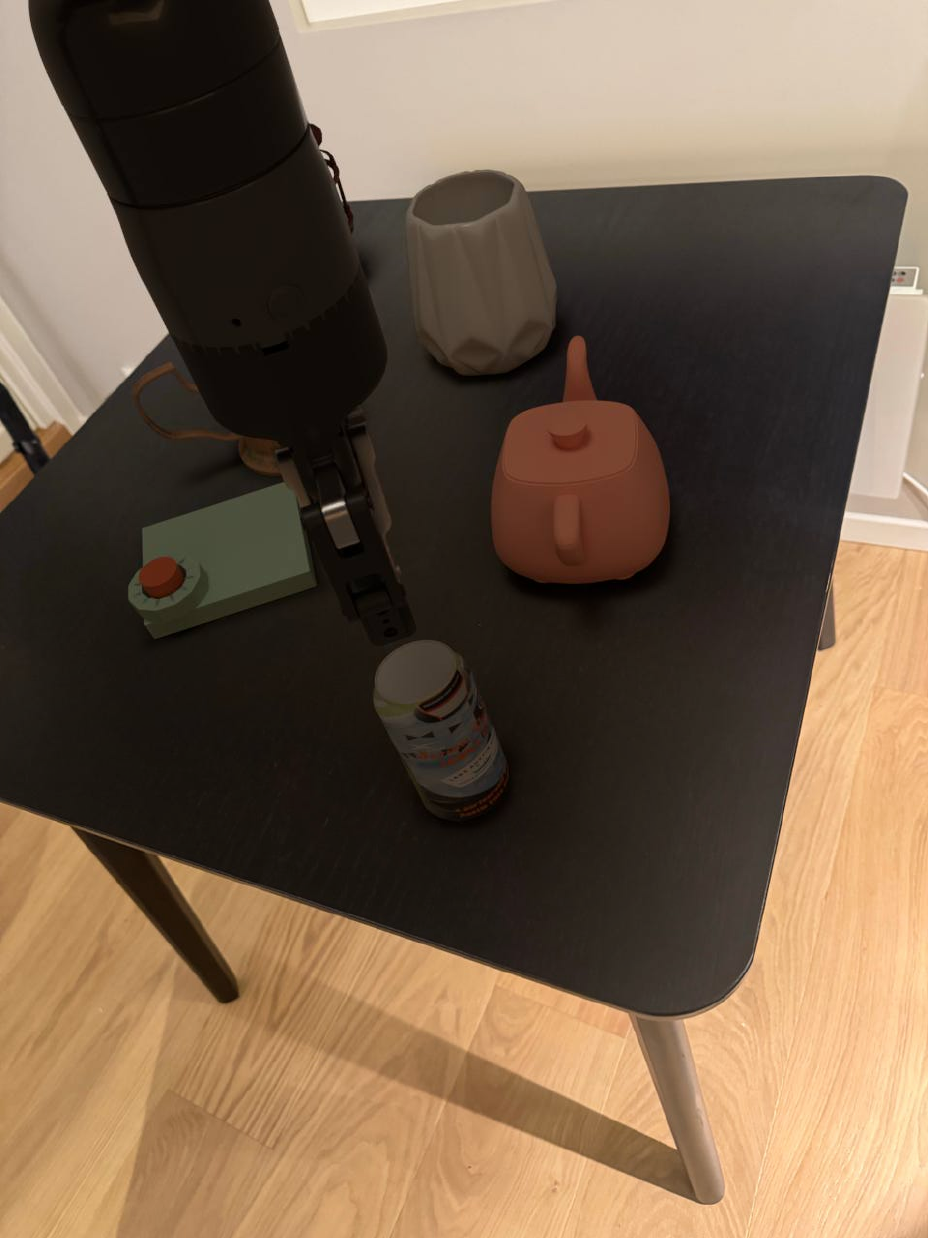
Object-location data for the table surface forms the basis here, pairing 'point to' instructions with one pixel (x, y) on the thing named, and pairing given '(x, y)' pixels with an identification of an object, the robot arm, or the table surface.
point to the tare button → (161, 577)
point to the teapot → (579, 488)
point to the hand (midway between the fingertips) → (378, 573)
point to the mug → (250, 449)
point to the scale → (226, 559)
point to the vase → (479, 273)
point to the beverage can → (441, 729)
